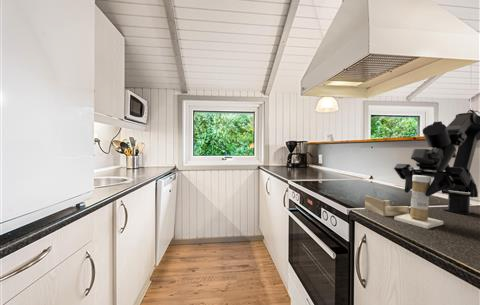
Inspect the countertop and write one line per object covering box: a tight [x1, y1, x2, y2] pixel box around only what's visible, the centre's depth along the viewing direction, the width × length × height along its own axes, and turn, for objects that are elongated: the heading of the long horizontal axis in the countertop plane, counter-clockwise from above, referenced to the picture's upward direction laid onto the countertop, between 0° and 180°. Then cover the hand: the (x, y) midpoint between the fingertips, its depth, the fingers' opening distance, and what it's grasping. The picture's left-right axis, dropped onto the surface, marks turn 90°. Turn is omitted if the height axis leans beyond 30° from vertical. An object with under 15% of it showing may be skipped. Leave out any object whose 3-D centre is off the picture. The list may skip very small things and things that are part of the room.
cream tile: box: [393, 213, 444, 230], centre depth 70 cm, size 9×9×1 cm
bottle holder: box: [364, 194, 410, 217], centre depth 81 cm, size 10×10×5 cm
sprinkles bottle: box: [409, 175, 432, 220], centre depth 70 cm, size 5×5×14 cm
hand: (415, 193), depth 69 cm, fingers open, 6 cm apart
